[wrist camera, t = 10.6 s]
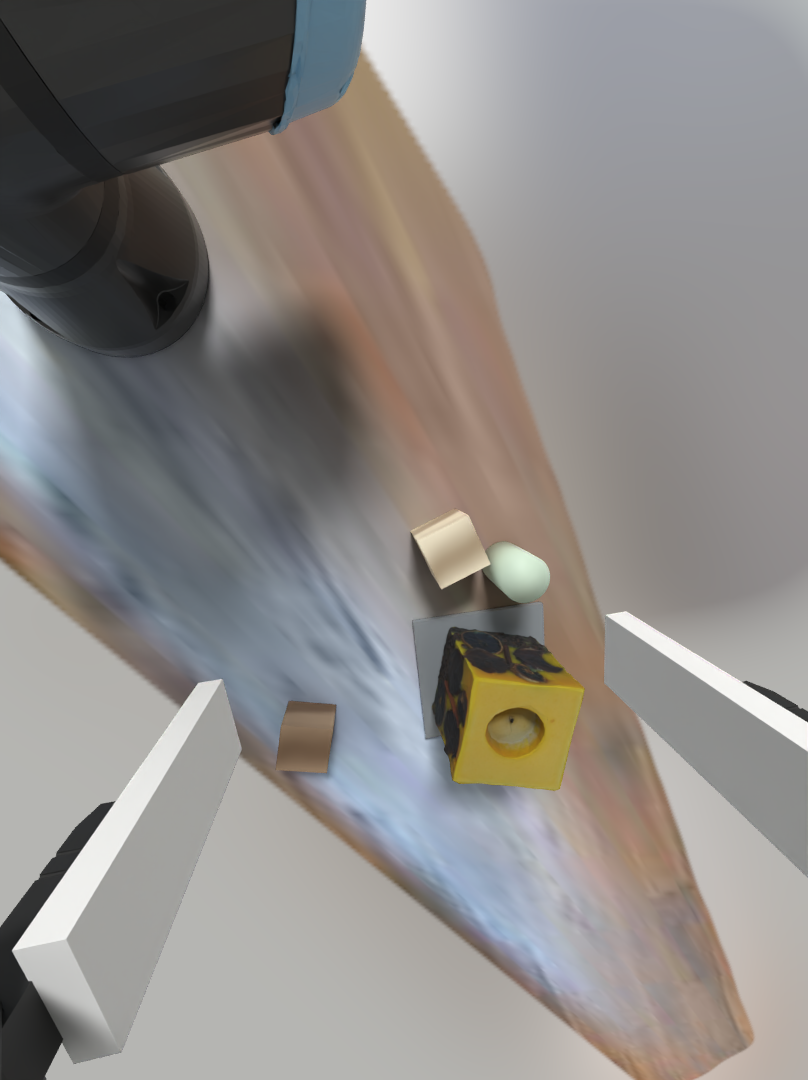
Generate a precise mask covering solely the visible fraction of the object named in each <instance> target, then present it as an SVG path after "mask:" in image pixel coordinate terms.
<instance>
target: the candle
mask: <svg viewBox="0 0 808 1080" xmlns="http://www.w3.org/2000/svg"><path fill="white" fill-rule="evenodd" d="M441 664H442V665H441V667H440V673H439V676H438V678H439V680H438V685H437V689H436V694H435V700H434V702H433V704H432V710H433V714H434V715H435V723H436V725H437V727H438V729H439V731H440V734H441V736H442V739H443V741H444V744H445V748H444V751H445V753H446V754H447V755H448V757H449V761H450V768H451V775H452V780H453V781H455V782H457V783H459V784H472V783H484V784H490V785H505V786H518V787H526V788H533V789H545V790H553V791H555V790H558V789H560V786H561V782H562V778H563V773H564V769H565V765H566V761H567V757H568V752H569V748H570V744H571V739H572V736H573V732H574V728H575V724H576V721H577V717H578V714H579V710H580V707H581V704H582V700H583V695H584V690H585V688H584V687H583V686H582V685H581V684H580V683H579V682H577V681H576V680H575V679H574V678H573V677H572V676H571V674H569V673H567V672H566V670H565V669H564V667H563V666H562V665H561V664H559V662H558V661H557V660H556V659H555V658H554V656H553V655H552V653H551V652H548V649H547V648H546V647H545V646H544V645H541V644H540V643H539V642H538V641H537V639H535V638H533V637H532V636H529V637H525V636H520V635H510V634H505V633H504V632H487V631H479V630H476V629H473V630H468V629H464V628H458V627H451V628H450V629H449V631H448V634H447V638H446V644H445V645H444V655H443V656H442V662H441Z"/></svg>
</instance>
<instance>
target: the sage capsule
mask: <svg viewBox="0 0 808 1080" xmlns="http://www.w3.org/2000/svg"><path fill="white" fill-rule="evenodd" d="M485 553H486V555H487V557H488V559H489V561H490V565H488V566H486V567H484V568H482V570H483V572H484V574H485V575H486V576H487V577H488V578H489V579H490V580H491V581H492V582H493V583H494V584H495V585H496V586H497V587H498V588H499V589H500V590H501V591H503V592H504V593H505V594H506V595H507V596H508V597H509V598H510V599H511V600H513V601H515V602H518V603H529V602H532V601H535V600H537V599H538V598H540V597H541V596H542V595H543V594H544V592H545V591H546V590H547V588H548V585H549V582H550V572H549V569H548V567H547V565H546V564H545V562H543V561H542V560H541V559H540V558H538V557H536V556H534V555H532V554H530V553H529V552H527V551H525V550H523V549H521V548H520V547H518V546H516V545H514V544H512V543H510V542H505V541H503V542H497V543H495V544H493V545H491V546H490V547H489V548H488V549H487V550H486V551H485Z"/></svg>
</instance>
